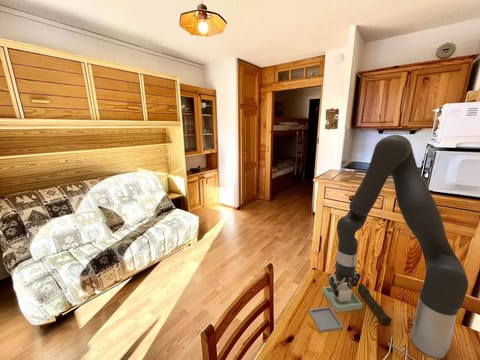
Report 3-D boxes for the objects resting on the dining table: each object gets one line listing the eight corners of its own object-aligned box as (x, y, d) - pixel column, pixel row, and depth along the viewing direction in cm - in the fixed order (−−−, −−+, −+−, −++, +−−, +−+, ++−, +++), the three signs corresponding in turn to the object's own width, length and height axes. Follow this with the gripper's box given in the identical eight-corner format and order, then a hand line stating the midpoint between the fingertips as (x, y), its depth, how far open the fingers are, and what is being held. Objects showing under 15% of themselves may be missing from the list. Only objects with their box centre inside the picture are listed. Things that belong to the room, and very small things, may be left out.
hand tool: (391, 326, 80) (393, 316, 79) (380, 326, 80) (382, 316, 79) (364, 289, 98) (365, 281, 97) (355, 289, 98) (356, 281, 97)
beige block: (343, 291, 94) (344, 282, 93) (350, 300, 89) (351, 290, 88) (333, 293, 93) (334, 283, 92) (339, 302, 88) (340, 292, 87)
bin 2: (345, 289, 98) (346, 284, 97) (361, 309, 87) (362, 304, 86) (322, 292, 96) (323, 287, 96) (336, 313, 86) (337, 307, 85)
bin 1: (329, 309, 88) (330, 306, 87) (343, 329, 79) (343, 326, 78) (308, 312, 86) (309, 309, 86) (319, 333, 78) (320, 330, 77)
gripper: (335, 267, 82) (331, 303, 86) (368, 264, 84) (363, 299, 88) (325, 256, 90) (322, 290, 94) (355, 253, 91) (351, 286, 95)
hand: (342, 294), depth 91 cm, fingers closed on beige block, 5 cm apart
